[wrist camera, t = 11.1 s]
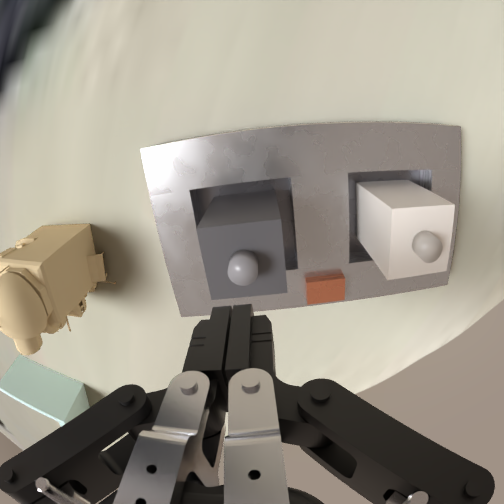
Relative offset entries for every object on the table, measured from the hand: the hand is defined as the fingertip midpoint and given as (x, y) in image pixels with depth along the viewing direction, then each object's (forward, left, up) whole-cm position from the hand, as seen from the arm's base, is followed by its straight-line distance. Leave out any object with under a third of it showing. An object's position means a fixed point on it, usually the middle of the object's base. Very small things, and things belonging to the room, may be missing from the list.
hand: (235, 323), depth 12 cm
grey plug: (0, 0, -12) cm, 13 cm away
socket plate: (0, +5, -13) cm, 14 cm away
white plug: (0, +11, -12) cm, 17 cm away
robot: (+2, -18, -13) cm, 23 cm away
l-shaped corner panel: (+23, -33, -14) cm, 43 cm away
